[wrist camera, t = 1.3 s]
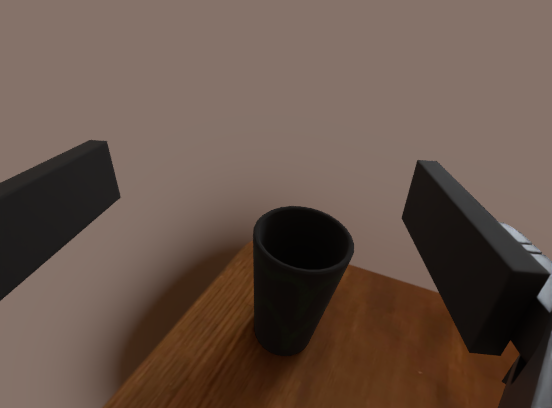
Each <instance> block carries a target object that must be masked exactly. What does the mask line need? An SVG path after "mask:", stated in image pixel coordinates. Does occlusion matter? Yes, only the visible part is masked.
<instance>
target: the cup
mask: <svg viewBox="0 0 552 408" xmlns="http://www.w3.org/2000/svg"><path fill="white" fill-rule="evenodd" d="M353 253H354V243H353V240H352V237H351V235H350V233H349V232H348V230H347V229H346V228H345V227H344V226H343V225H342V224H341V223H340V222H339V221H337V220H336V219H335V218H333V217H332V216H330V215H328V214H326V213H323V212H321V211H318V210H315V209H312V208H307V207H300V206H288V207H280V208H277V209H274V210H271V211H269V212H267V213H266V214H264V215H262V217H260V218H259V220H258V221H257V222H256V224H255V227H254V233H253V258H254V329H255V334H256V337H257V339H258V341H259V343H260V344H261V345H262V346H263V347H264V348H265V349H266V350H268V351H269V352H271V353H274V354H276V355H281V356H291V355H294V354H297V353H299V352H300V351H302V350H303V349H304V348H305V347H306V346H307V344H308V343H309V341H310V339H311V337H312V335H313V333H314V331H315V329H316V327H317V325H318V323H319V321H320V319H321V317H322V315H323V313H324V311H325V309H326V307H327V305H328V303H329V301H330V299H331V297H332V295H333V293H334V291H335V289H336V288H337V286H338V284H339V282H340V280H341V278H342V276H343V274H344V272H345V270H346V268H347V266H348V264H349V262H350V260H351V258H352V255H353Z"/></svg>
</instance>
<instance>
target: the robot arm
mask: <svg viewBox="0 0 552 408" xmlns="http://www.w3.org/2000/svg"><path fill="white" fill-rule="evenodd" d="M119 198H120V193H119V189H118V185H117V181H116V177H115V173H114V169H113V164H112V161H111V156H110V152H109V148H108V144H107V141H96V140H89V141H87V142H85V143H83V144H81V145H79V146H77V147H74V148H72V149H70V150H68V151H66V152H64V153H62V154H60V155H58V156H56V157H54V158H51V159H49V160H47V161H45V162H43V163H41V164H39V165H37V166H35V167H33V168H31V169H29V170H26V171H25V172H22V173H20V174H18V175H16V176H14V177H12V178H10V179H8V180H6V181H3V182H1V183H0V301H1V300H2V299H3V298H4V297H5V296H6V295H8V294H9V293H10V292H11V291H12V290H13V289H14V288H16V287H17V286H18V285H19V284H20V283H22V282H23V281H24V280H25V279H26V278H27V277H28V276H30V275H31V274H32V273H33V272H34V271H35V270H37V269H38V268H39V267H40V266H41V265H42V264H44V263H45V262H46V261H47V260H48V259H49V258H51V256H53V255H54V254H55V253H56V252H58V251H59V250H60V249H61V248H62V247H63V246H64V245H66V244H67V243H68V242H69V241H70V240H71V239H73V238H74V237H75V236H76V235H77V234H79V233H80V232H81V231H82V230H83V229H84V228H85V227H87V226H88V225H89V224H90V223H91V222H92V221H94V220H95V219H96V218H97V217H98V216H99V215H101V214H102V213H103V212H104V211H105V210H106V209H108V208H109V207H110V206H111V205H112V204H113V203H114V202H116V201H117V200H118V199H119ZM402 220H403V222H404V224H405V225H406V228H407V229H408V232H409V234H410V236H411V238H412V239H413V241H414V244H415V245H416V247H417V250H418V251H419V254H420V255H421V257H422V259H423V261H424V263H425V265H426V267H427V269H428V271H429V273H430V275H431V277H432V279H433V281H434V283H435V285H436V287H437V289H438V291H439V293H440V295H441V297H442V299H443V301H444V303H445V305H446V307H447V309H448V311H449V313H450V315H451V317H452V319H453V321H454V323H455V325H456V327H457V329H458V331H459V333H460V335H461V337H462V339H463V341H464V343H465V345H466V347H467V349H468V351H469V353H478V354H488V355H498V356H501V354H502V353H503V351H504V349H505V348H506V346H507V344H508V343H509V341H510V340H511V341H512V343H513V344H514V346H515V347H516V349H517V350H518V352H519V353H520V355H519V356H518V358H517V359H516V361H515V362H514V364H513V365H512V367H511V368H510V370H509V371H508V373H507V374H506V376H505V377H504V379H503V380H502V382H503V383H505V384H506V386H505V389H504V392H503V395H502V397H501V400H500V403H499V406H498V408H552V261H551V260H549V259H548V258H547V257H546V256H545V255H542V252H541V251H540V250H539V249H538V248H537V247H536V246H534V245H532V243H531V242H530V241H529V240H528V239H527V238H526V237H525V236H524V235H523V234H522V233H521V232H519V231H517V230H516V229H514V228H512V227H510V226H509V225H507V224H505V223H501V222H498V221H497V220H496V219H495V218H494V217H493V216H492V215H491V214H490V213H489V212H488V211H487V210H485V208H484V207H482V206H481V205H480V203H479V202H478V201H477V200H476V199H474V197H473V196H472V195H471V194H469V193H468V192H467V191H466V190H465V189H464V188H463V187H462V186H461V185H460V184H459V183H458V182H457V181H456V180H455V179H454V178H453V177H452V176H451V175H450V174H449V173H448V172H447V171H446V170H445V169H444V168H443V167H442V166H441V165H440V164H439V163H438V162H437V161H423V160H418V161H417V164H416V167H415V171H414V175H413V179H412V182H411V186H410V189H409V193H408V197H407V200H406V204H405V208H404V211H403V215H402Z"/></svg>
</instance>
